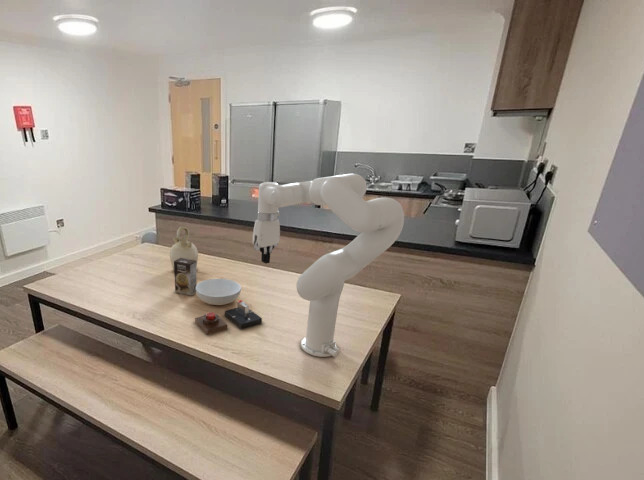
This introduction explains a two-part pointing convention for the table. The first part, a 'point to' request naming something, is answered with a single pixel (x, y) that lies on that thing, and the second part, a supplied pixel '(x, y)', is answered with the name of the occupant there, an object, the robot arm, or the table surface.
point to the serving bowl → (218, 291)
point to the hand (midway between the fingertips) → (265, 262)
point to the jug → (183, 248)
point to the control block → (211, 324)
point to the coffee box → (185, 276)
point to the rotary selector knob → (243, 308)
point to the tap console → (242, 321)
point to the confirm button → (210, 316)
